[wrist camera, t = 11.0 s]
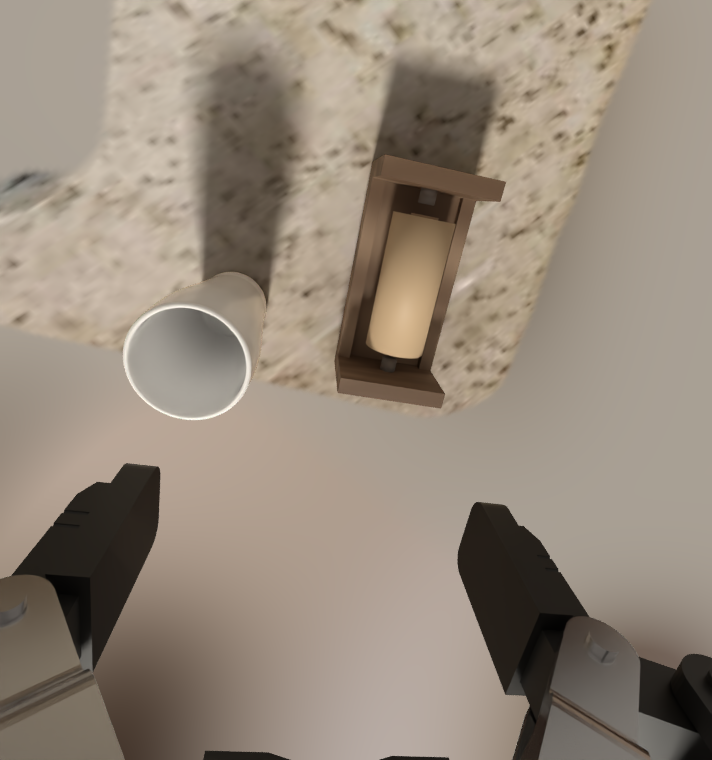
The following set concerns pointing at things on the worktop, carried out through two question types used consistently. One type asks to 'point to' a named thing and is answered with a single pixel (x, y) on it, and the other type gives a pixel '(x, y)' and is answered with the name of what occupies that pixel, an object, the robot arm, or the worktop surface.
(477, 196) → the holder
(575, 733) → the robot arm
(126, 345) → the drinking glass
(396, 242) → the roll
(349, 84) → the worktop surface
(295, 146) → the worktop surface
